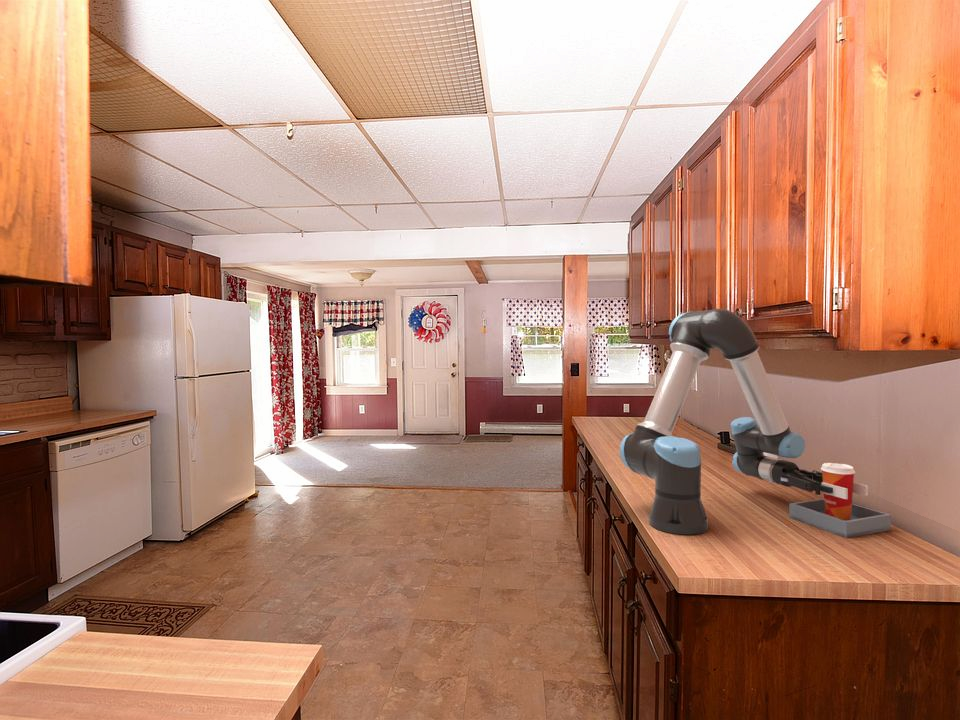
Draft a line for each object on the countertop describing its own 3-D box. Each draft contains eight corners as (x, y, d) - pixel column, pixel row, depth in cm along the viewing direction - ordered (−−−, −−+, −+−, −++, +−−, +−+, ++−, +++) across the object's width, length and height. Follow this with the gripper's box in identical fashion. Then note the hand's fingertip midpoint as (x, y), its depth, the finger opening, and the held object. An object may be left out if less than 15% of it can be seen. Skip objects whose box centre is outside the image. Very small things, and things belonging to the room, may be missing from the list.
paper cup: (819, 510, 139) (819, 461, 138) (853, 514, 135) (853, 463, 135) (822, 519, 132) (822, 467, 132) (857, 523, 128) (857, 470, 128)
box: (846, 538, 124) (846, 522, 124) (789, 517, 139) (789, 503, 139) (891, 529, 128) (891, 514, 128) (831, 510, 144) (831, 497, 144)
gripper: (803, 480, 153) (883, 502, 131) (754, 487, 148) (829, 511, 126) (803, 456, 153) (883, 474, 131) (754, 462, 147) (829, 482, 125)
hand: (856, 492), depth 128 cm, fingers closed on paper cup, 7 cm apart
